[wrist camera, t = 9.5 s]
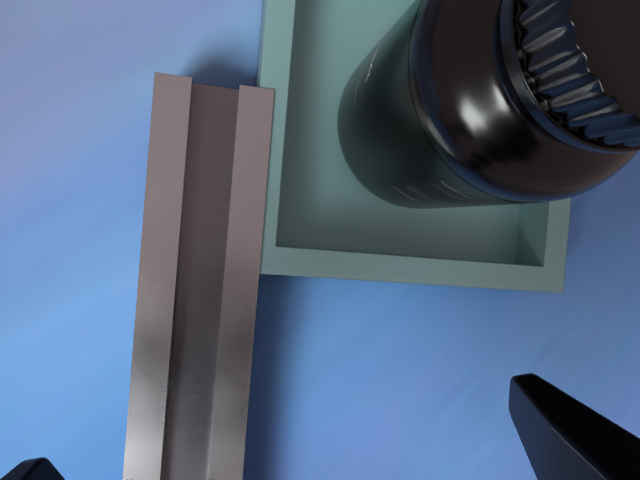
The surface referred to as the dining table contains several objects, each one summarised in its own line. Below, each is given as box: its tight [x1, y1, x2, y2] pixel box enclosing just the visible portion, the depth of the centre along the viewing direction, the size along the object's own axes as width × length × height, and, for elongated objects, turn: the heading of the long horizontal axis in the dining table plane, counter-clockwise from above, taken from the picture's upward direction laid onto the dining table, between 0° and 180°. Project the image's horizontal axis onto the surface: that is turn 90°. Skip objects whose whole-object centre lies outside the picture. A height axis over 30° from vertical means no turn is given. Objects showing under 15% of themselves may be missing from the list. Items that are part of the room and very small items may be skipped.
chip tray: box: [256, 0, 571, 293], centre depth 19 cm, size 13×13×2 cm
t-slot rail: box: [123, 72, 274, 480], centre depth 17 cm, size 20×4×3 cm, turn 175°
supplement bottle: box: [337, 0, 640, 209], centre depth 14 cm, size 7×7×12 cm
